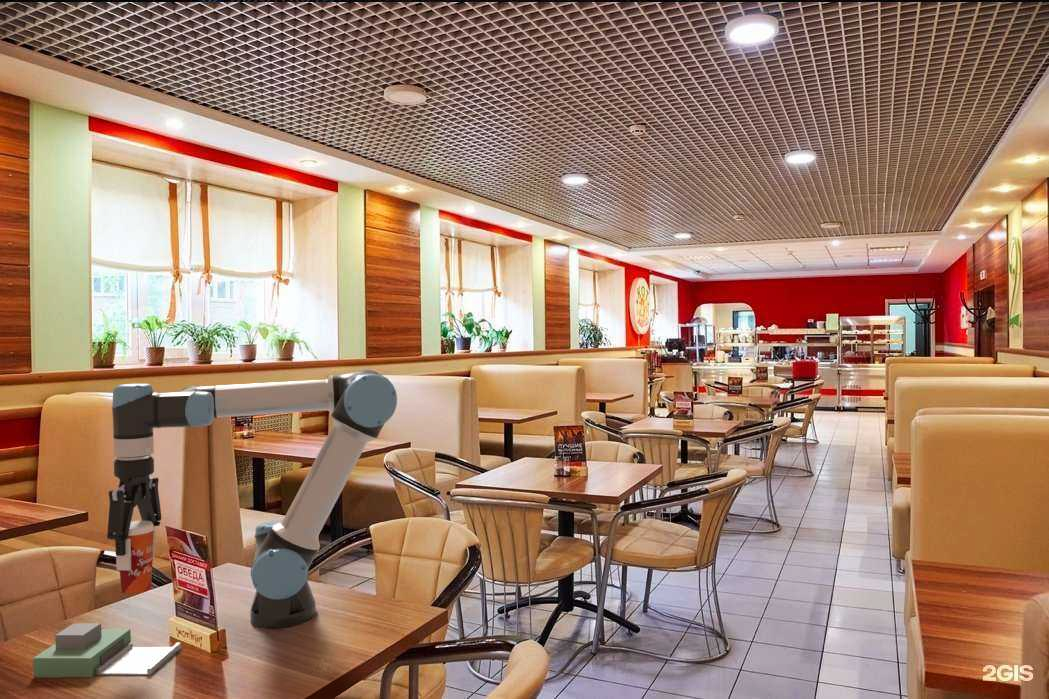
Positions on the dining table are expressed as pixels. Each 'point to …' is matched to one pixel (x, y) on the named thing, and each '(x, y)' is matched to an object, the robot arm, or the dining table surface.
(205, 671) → the dining table surface
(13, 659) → the dining table surface
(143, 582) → the paper cup
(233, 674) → the dining table surface
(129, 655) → the plate
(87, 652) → the stepped green box
